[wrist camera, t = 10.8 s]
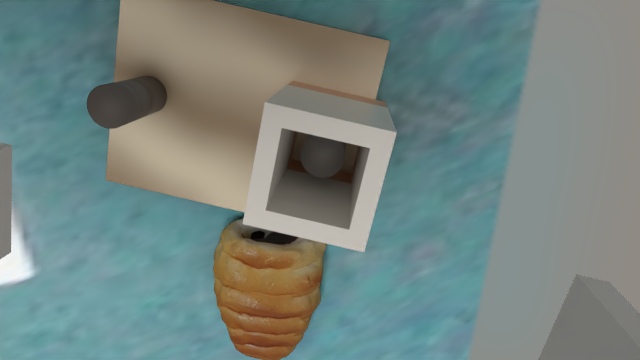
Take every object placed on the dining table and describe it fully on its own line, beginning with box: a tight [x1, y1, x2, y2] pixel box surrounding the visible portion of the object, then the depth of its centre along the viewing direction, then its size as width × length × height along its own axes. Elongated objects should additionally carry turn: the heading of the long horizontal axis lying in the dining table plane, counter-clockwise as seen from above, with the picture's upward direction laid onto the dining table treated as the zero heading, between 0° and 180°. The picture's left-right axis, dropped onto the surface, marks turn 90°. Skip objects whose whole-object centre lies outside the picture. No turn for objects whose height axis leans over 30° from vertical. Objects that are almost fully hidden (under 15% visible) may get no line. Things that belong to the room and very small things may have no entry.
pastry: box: [213, 218, 327, 360], centre depth 29 cm, size 9×7×4 cm
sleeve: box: [243, 81, 397, 252], centre depth 22 cm, size 5×5×8 cm
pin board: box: [87, 0, 390, 212], centre depth 25 cm, size 11×14×6 cm
